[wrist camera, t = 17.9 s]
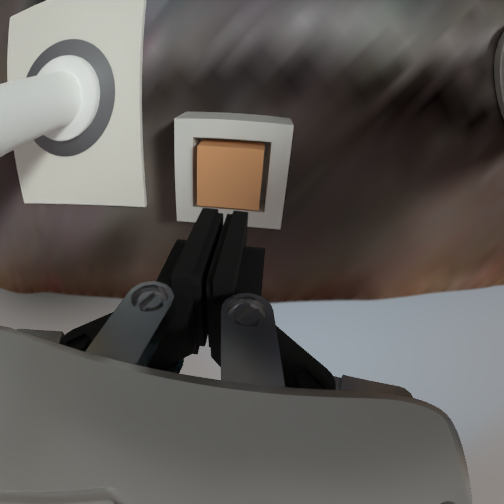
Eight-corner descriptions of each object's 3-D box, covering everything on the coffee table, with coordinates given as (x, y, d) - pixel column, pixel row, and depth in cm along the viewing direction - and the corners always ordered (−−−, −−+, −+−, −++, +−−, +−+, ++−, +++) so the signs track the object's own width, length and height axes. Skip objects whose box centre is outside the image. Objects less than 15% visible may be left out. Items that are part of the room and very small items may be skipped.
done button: (264, 142, 19) (264, 150, 17) (259, 197, 21) (258, 210, 19) (203, 138, 19) (197, 145, 17) (203, 193, 21) (197, 205, 19)
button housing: (290, 118, 19) (293, 125, 17) (278, 210, 23) (280, 229, 21) (186, 111, 19) (174, 118, 17) (186, 202, 23) (177, 221, 21)
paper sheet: (149, -28, 13) (147, -30, 12) (147, 204, 23) (145, 207, 23) (12, 17, 13) (9, 17, 12) (26, 201, 23) (23, 203, 23)
